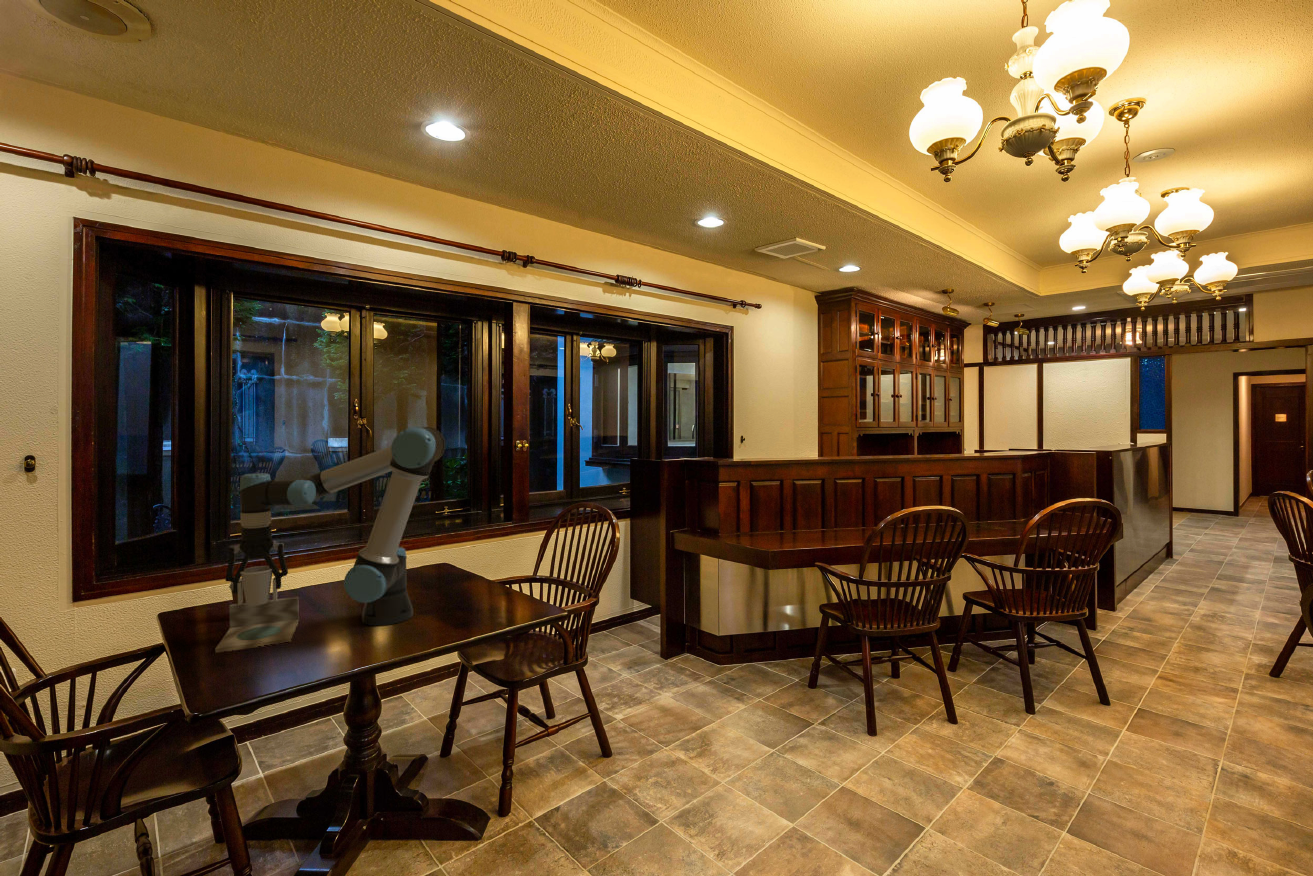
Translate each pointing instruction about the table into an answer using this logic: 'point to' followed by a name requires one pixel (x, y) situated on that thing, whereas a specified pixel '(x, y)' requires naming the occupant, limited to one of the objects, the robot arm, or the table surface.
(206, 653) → the table surface
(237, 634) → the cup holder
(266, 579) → the dixie cup
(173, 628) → the table surface
